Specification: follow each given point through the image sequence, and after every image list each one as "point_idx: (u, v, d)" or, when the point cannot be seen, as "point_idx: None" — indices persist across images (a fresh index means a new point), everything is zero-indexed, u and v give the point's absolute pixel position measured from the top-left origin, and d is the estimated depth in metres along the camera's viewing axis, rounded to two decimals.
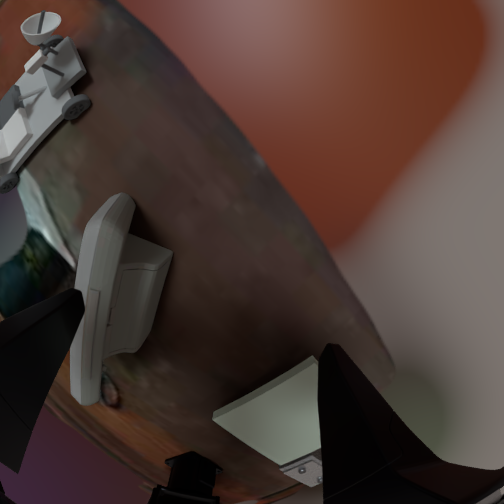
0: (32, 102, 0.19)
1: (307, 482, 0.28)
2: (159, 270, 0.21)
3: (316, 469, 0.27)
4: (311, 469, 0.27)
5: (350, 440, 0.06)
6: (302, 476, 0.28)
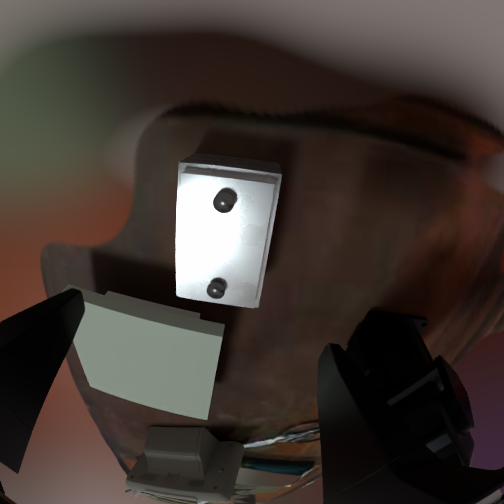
0: None
1: (257, 221, 0.14)
2: (148, 446, 0.29)
3: (194, 260, 0.15)
4: (201, 270, 0.15)
5: (350, 440, 0.06)
6: (238, 262, 0.15)
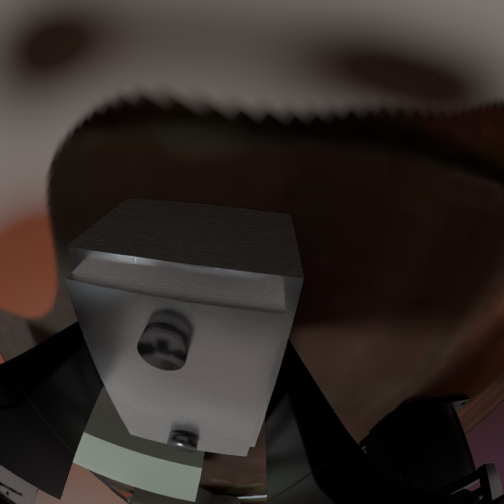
0: None
1: (244, 377, 0.06)
2: (135, 498, 0.22)
3: (137, 408, 0.07)
4: (154, 420, 0.07)
5: (285, 440, 0.06)
6: (214, 420, 0.07)
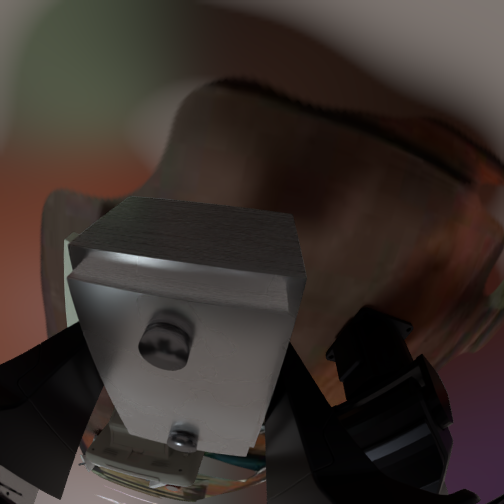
0: None
1: (245, 377, 0.06)
2: (114, 419, 0.29)
3: (137, 408, 0.07)
4: (153, 419, 0.07)
5: (284, 440, 0.06)
6: (215, 420, 0.07)
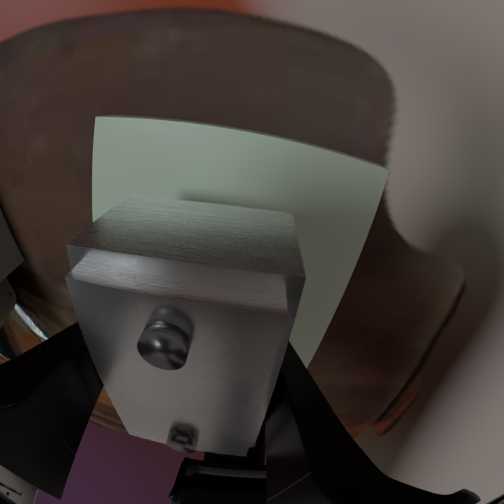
0: None
1: (245, 377, 0.06)
2: None
3: (136, 408, 0.07)
4: (153, 419, 0.07)
5: (284, 440, 0.06)
6: (214, 420, 0.07)
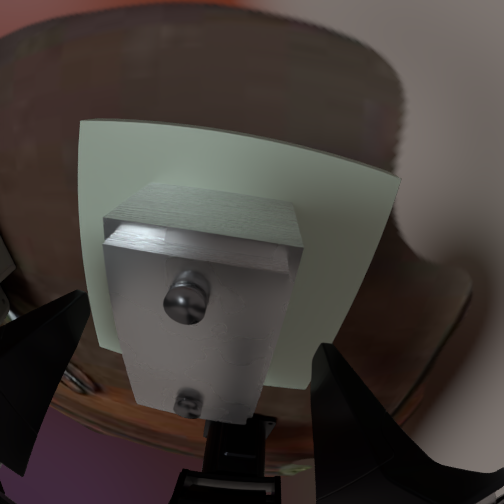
0: None
1: (251, 334, 0.07)
2: None
3: (149, 372, 0.08)
4: (163, 384, 0.08)
5: (342, 440, 0.06)
6: (220, 382, 0.08)
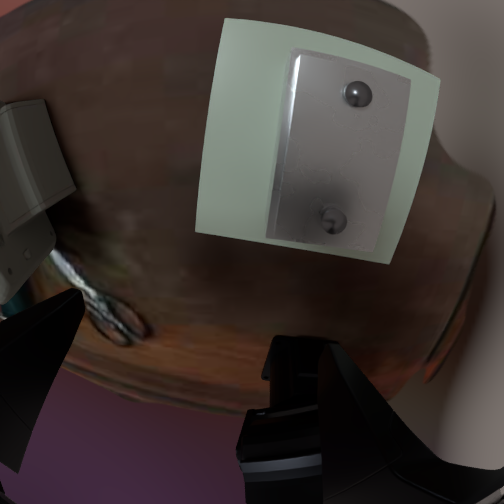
0: None
1: (392, 126, 0.09)
2: (16, 109, 0.12)
3: (307, 176, 0.10)
4: (315, 192, 0.10)
5: (350, 440, 0.06)
6: (366, 180, 0.10)
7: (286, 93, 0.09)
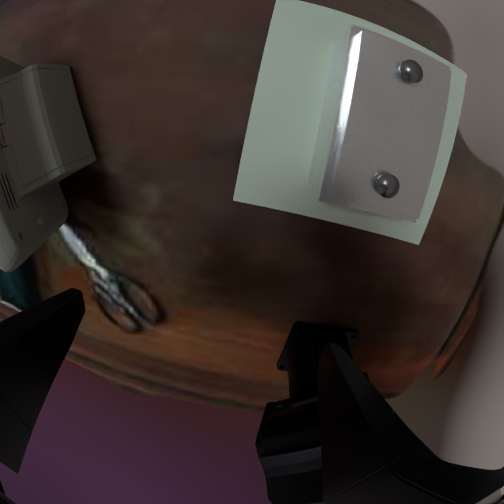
0: None
1: (437, 104, 0.08)
2: (42, 70, 0.12)
3: (365, 140, 0.10)
4: (372, 156, 0.10)
5: (350, 440, 0.06)
6: (416, 150, 0.10)
7: (346, 63, 0.09)
